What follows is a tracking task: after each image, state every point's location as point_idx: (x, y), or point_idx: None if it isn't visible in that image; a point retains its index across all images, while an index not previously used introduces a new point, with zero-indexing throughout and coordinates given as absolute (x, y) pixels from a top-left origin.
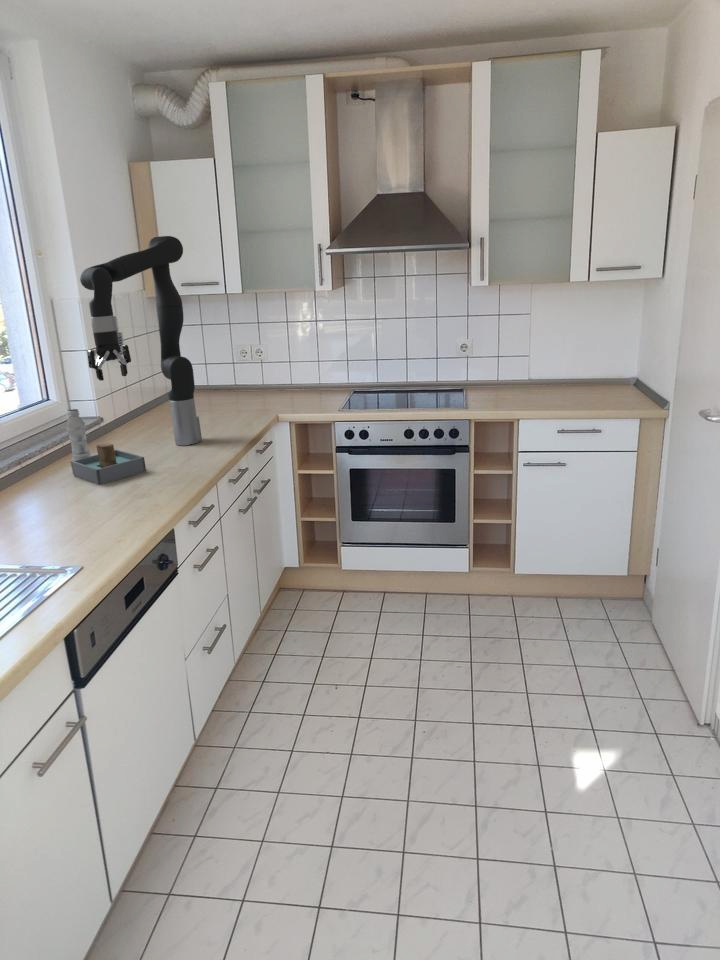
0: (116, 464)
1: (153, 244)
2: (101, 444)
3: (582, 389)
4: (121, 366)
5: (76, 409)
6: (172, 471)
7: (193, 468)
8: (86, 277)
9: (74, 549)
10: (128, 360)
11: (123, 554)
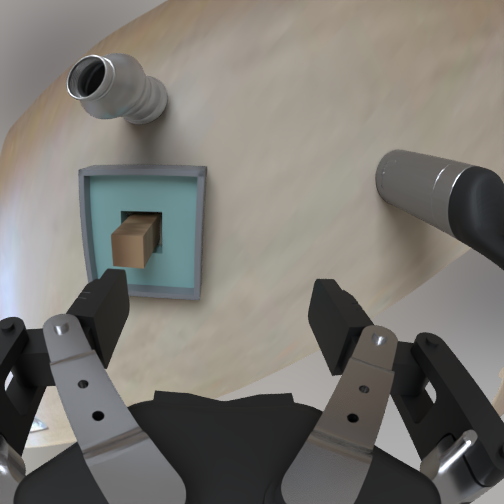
0: (132, 294)
1: None
2: (124, 237)
3: None
4: (338, 341)
5: (105, 68)
6: (230, 325)
7: (262, 341)
8: None
9: (43, 408)
10: (396, 397)
11: (74, 437)
